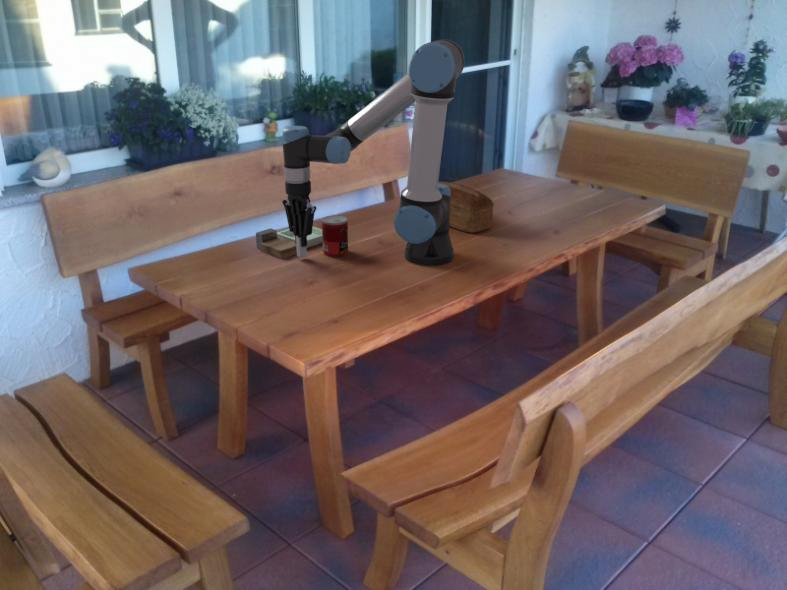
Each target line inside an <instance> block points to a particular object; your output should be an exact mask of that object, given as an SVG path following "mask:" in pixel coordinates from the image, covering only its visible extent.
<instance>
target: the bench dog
mask: <svg viewBox="0 0 787 590" xmlns="http://www.w3.org/2000/svg"><path fill="white" fill-rule="evenodd" d="M277 232H278V231H277V229H273V228H268V229H264V230H260V231H257V232H255V242H256V248H257V249H259V250H261V248H260V243H263V242H266V241H269V240H272V239H276V238H277Z"/></svg>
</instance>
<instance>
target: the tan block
mask: <svg viewBox="0 0 787 590" xmlns="http://www.w3.org/2000/svg"><path fill="white" fill-rule="evenodd" d="M260 248H261V249H260V252H261V253H265V254H267V255H269V256H273V257H275V258H278V259H281V260H282V259H285V258H288V257H291V256H294V255H297V249H296V243H295V242H292V241H289V240H287V239H284V238H281V237H279V238H276V239H272V240H269V241H266V242H263V243H260Z"/></svg>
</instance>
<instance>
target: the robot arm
mask: <svg viewBox="0 0 787 590" xmlns="http://www.w3.org/2000/svg"><path fill="white" fill-rule="evenodd" d="M465 62H466V61H465V54H464V52H463V50H462V48H461V47H460V45H458V43H456V42H455V41H453V40H451V39H447V38H446V39H445V38H442V39H437V40H434V41H431V42H430V41H429V42H427V43H424V44H423V45H421V46H419V47H418V48H417V49H416V50H415V51H414V53H412V55H411V57H410V60H409V63H408V67H407V68H408V69H407V70H408V73H406V74H405V75H404V76H402V77H401V78H400V79H399V80H398V81H396V82H395V83H393V84H392V85H391V86H389V88H387V89H386V90H385V91H384V92H382V93H381V94H379V95H378V96H377V97H376V98H375V99H373V101H371V102H370V103H368V104H367V105H366V106H364V107H363V108H362V109H361V110H360V111H359V112H358V113H356V114H355V115H354V116H352V117H351V118H350V119H349V120H347V121H346V122H344V124H342V125H341V126H340V127H338V128H336V130H334V131H332V132H330V133H328V134H326V135H315V134H310V131H309V129H308V127H306V126H304V125H291V126H287V127H285V128H283V130H282V142H281V144H282V150H283V152H282V153H283V171H284V172H283V175H284V180H285V182H284V186H285V187H284V188H285V189H284V190H285V194H286V195H287V198H286V199H283V200H281V202H282V205H283V207H284V210H285V215H286V219H287V223H288V224H287V225H288V229H289V230H290V232H293V233H294V235H295V243H296V249H297V254H296V257H298V258H302V257H305V256H308V252H307V249H308V248H306V246H307V236H308V235H311V234H312V228H313V227H314V218H315V213H316V210H317V206H316V205H313V204H311V199H310V194H311V193H312V182H311V180H310V179H311V162H312V163H313V162H314V163H322V164H323V163H324V164H333V165H338V164H340V165H341V164H342V165H343V164H347V162H348V161H349V159H350V157H351V153H352V152H353V151H354V150H355V149H356V148H358V147H359V146H360V145H361V144H363V143H364V142H365V141H366V140H367V139H368V138H370V137H372V135H374V134H375V133H376V132H377V131H379V130H380V129H382V128H383V127H384V126H386V125H387V124H388V123H389V122H391V121H392V120H394V119H395V118H396V117H397V116H399V115H400V114H401V113H403V112H404V111H405V110H407V108H409V107H410V106H411V105H413V104H414V113H413V123H412V132H411V143H410V152H409V163H408V171H407V184H406V187H404V188H403V189H402V190H401V191H400V198H399V206H398V210H397V212H396V213H395V216H394V220H393V225H394V230H395V232H396V233H397V235H398V236H399V237H400V238H401V239H402V240H404V241H406V242H407V243H406V246H405V248H404V259H405V260H406V261H408V262H409V263H412V264H415V265H419V266H431V267H432V266H434V267H435V266H442V265H446V264H449V263H451V262H453V260H454V259H455V258H454V256H455V251H454V248H453V243H452V240H451V236H450V226H449V220H450V198H451V194H450V188H449V187H448V186H446V185H443V184H438V181H440V180H439V179H440V178H439V177H440V170H441V162H442V152H443V144H444V138H445V136H444V135H445V128H446V120H447V111H448V104H449V103H450V102H451V101H452V100H453V99H455V93H456V85H457V79H458V78H459V77H460V76H461V74H462V73H463V70H464V68H465Z"/></svg>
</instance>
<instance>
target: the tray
mask: <svg viewBox="0 0 787 590" xmlns="http://www.w3.org/2000/svg"><path fill="white" fill-rule="evenodd" d="M279 237H281V238H284V239H287V240H289V241H292V242H295V235H294V233H293V232H290V230H289V228H287V229H284V230H281V231H277V238H279ZM321 244H323V240H322V228H319V227H316V226H313V228H312V234H311V235H308V236H307V246H306V249H308V248H311V247H315V246H318V245H321Z"/></svg>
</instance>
